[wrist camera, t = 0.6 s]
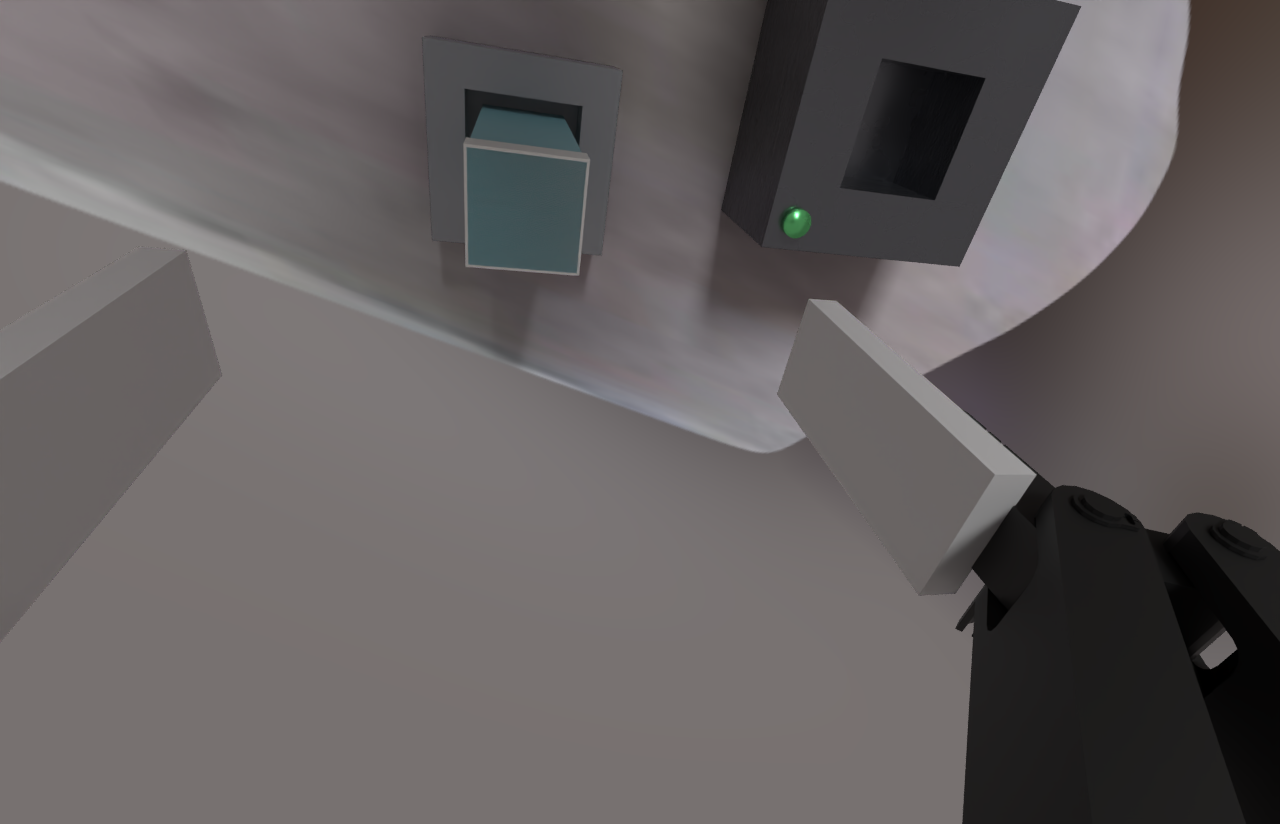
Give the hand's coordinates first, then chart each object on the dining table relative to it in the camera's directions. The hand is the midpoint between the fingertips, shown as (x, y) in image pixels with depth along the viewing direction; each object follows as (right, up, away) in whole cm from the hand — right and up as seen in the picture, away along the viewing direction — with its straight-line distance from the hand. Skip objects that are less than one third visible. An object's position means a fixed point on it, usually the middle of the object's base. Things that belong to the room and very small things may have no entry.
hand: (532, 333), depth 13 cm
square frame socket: (-4, +13, +18) cm, 22 cm away
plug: (-4, +12, +17) cm, 21 cm away
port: (+14, +15, +20) cm, 29 cm away
